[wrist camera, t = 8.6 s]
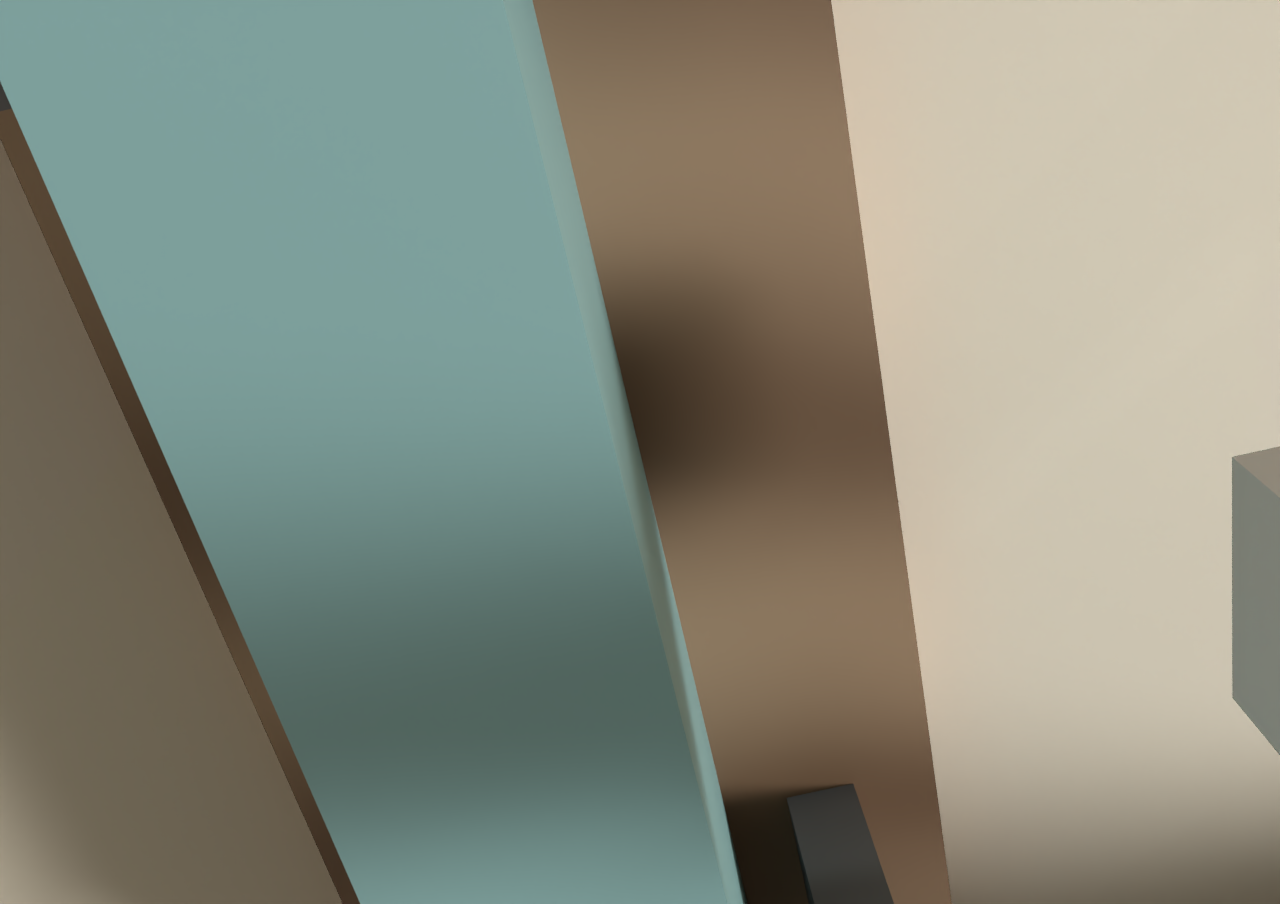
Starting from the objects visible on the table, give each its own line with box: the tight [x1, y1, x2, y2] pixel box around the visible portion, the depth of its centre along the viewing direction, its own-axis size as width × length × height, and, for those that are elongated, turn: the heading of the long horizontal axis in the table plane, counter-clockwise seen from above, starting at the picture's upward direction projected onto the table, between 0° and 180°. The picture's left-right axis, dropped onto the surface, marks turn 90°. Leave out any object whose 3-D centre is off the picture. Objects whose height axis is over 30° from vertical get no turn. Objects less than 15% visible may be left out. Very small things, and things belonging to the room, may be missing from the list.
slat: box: [0, 0, 747, 904], centre depth 12 cm, size 18×3×6 cm, turn 12°
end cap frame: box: [0, 0, 952, 904], centre depth 15 cm, size 26×9×5 cm, turn 12°
